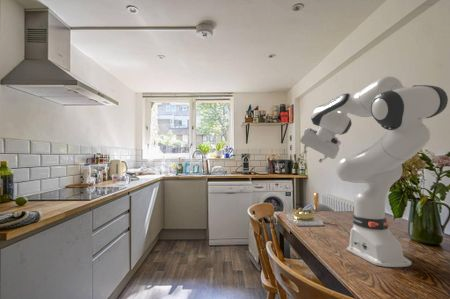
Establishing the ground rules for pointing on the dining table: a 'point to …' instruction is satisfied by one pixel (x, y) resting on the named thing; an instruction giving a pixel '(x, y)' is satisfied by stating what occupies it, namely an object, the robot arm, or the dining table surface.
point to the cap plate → (304, 221)
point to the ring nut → (307, 213)
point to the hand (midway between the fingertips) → (312, 157)
